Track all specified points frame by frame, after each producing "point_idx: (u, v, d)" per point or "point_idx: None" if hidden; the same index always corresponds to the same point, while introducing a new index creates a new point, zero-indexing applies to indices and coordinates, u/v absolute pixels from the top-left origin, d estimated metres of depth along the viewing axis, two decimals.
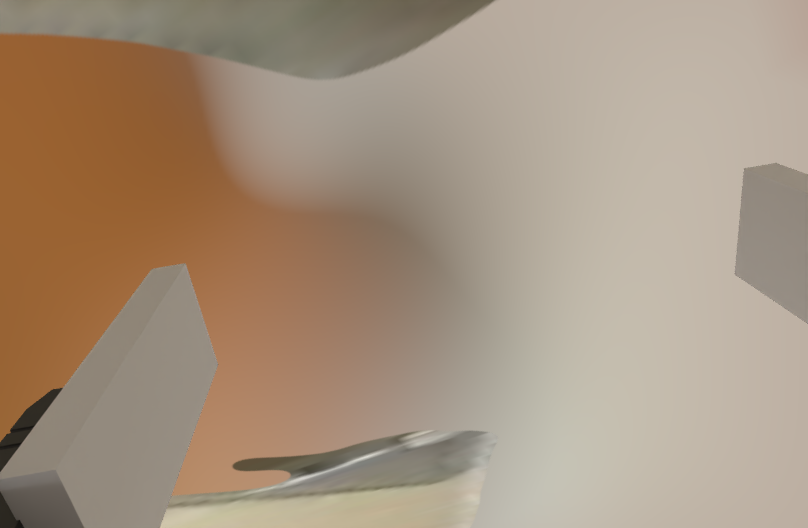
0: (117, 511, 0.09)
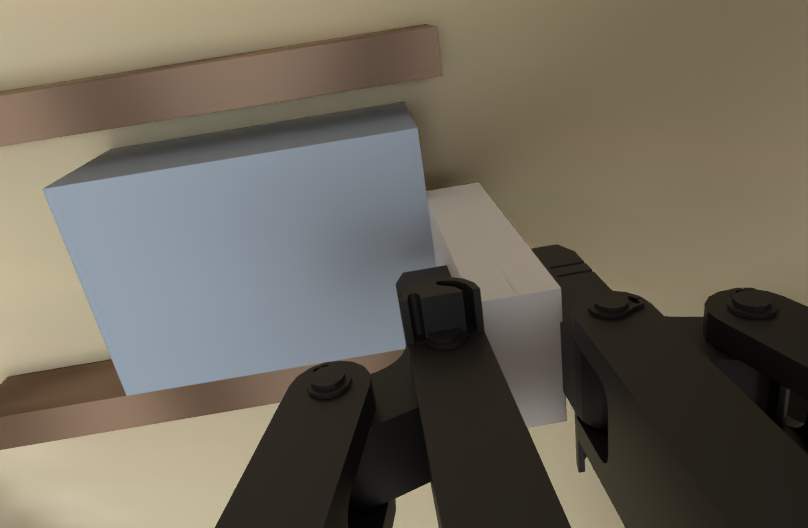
0: None
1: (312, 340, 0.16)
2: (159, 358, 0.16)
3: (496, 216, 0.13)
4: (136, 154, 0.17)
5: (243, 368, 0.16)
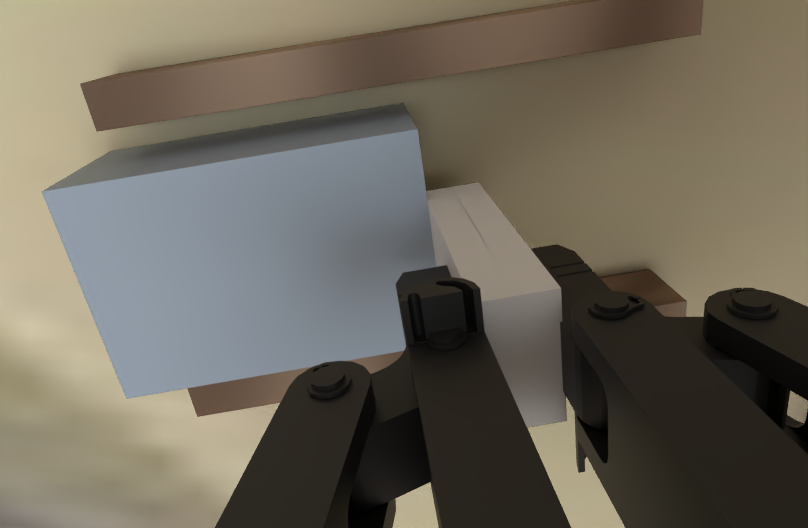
0: None
1: (312, 342, 0.16)
2: (159, 361, 0.16)
3: (496, 216, 0.13)
4: (135, 156, 0.16)
5: (243, 370, 0.16)
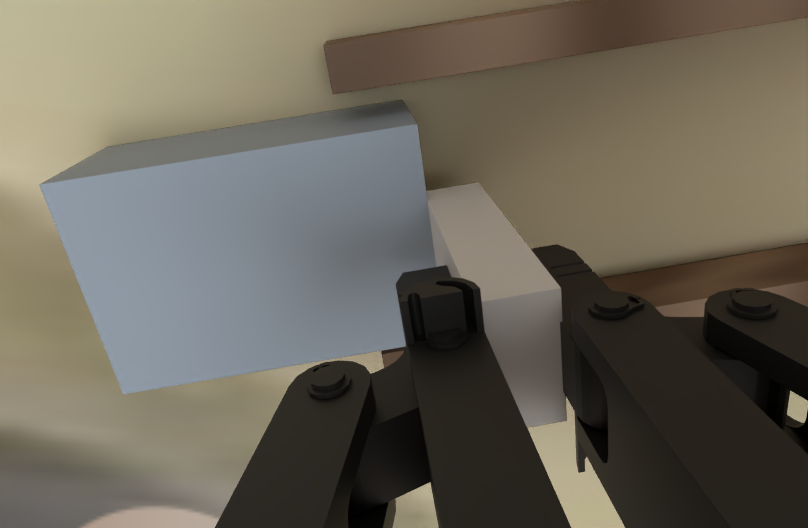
0: None
1: (311, 337, 0.16)
2: (156, 356, 0.16)
3: (496, 216, 0.13)
4: (134, 151, 0.16)
5: (241, 366, 0.16)
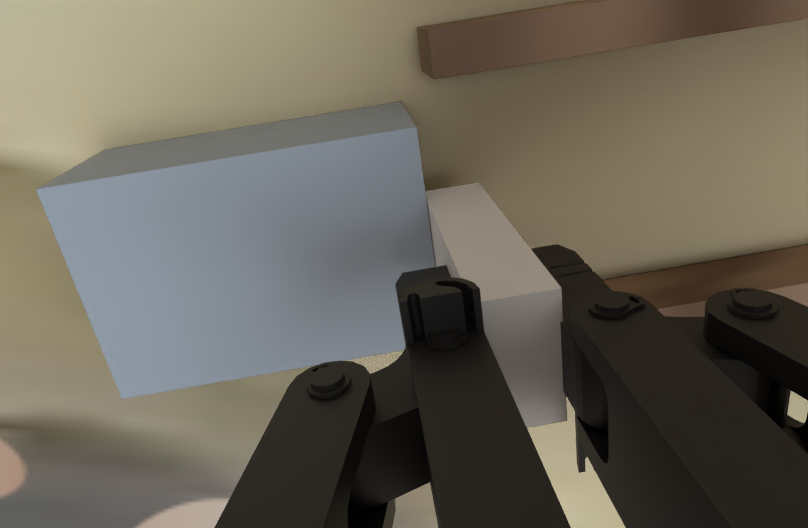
0: None
1: (310, 341, 0.16)
2: (155, 360, 0.16)
3: (496, 216, 0.13)
4: (131, 154, 0.16)
5: (240, 370, 0.16)
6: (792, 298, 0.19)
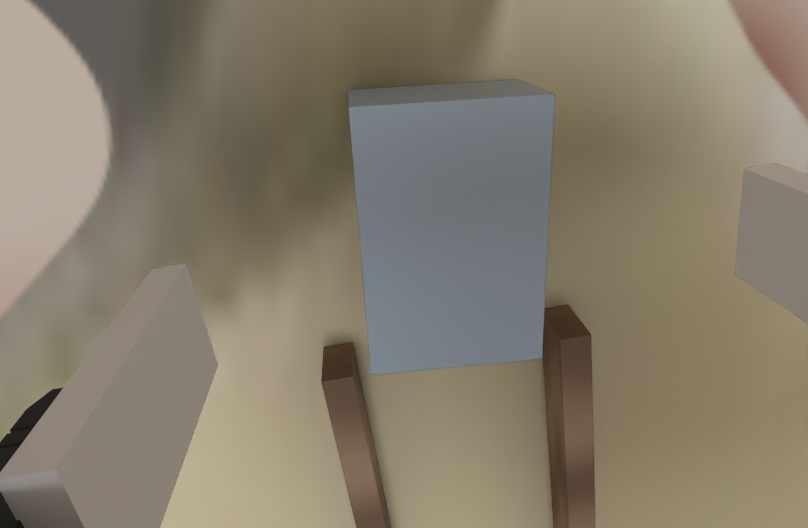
0: (117, 511, 0.09)
1: (386, 276, 0.19)
2: (385, 147, 0.17)
3: None
4: None
5: (366, 217, 0.18)
6: None
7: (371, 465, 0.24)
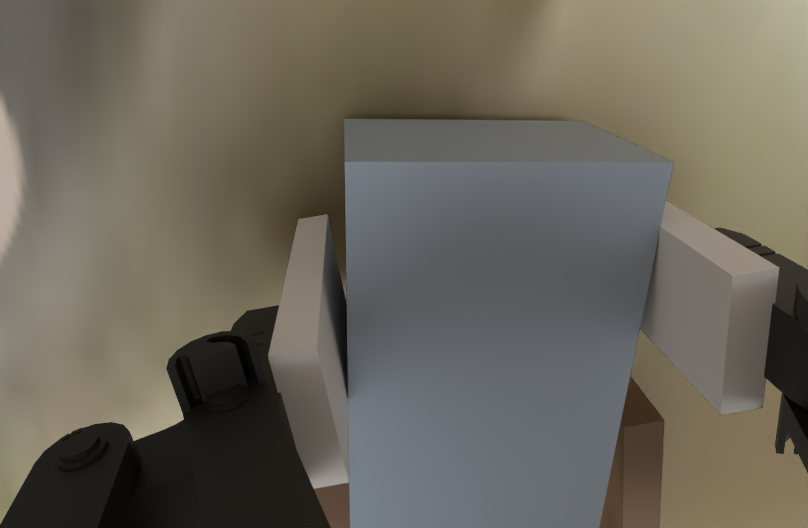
0: (335, 397, 0.10)
1: (384, 414, 0.12)
2: (399, 228, 0.11)
3: None
4: None
5: (359, 329, 0.12)
6: None
7: None
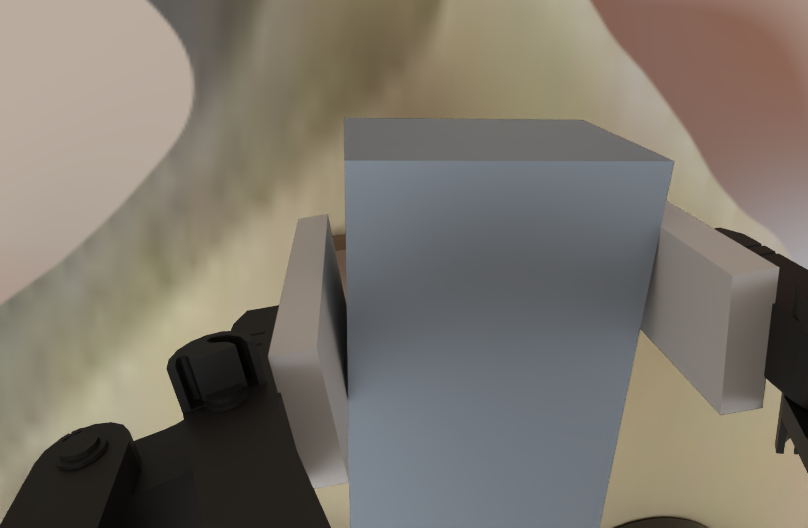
0: (336, 398, 0.10)
1: (384, 413, 0.12)
2: (400, 227, 0.11)
3: None
4: None
5: (359, 329, 0.12)
6: None
7: None
